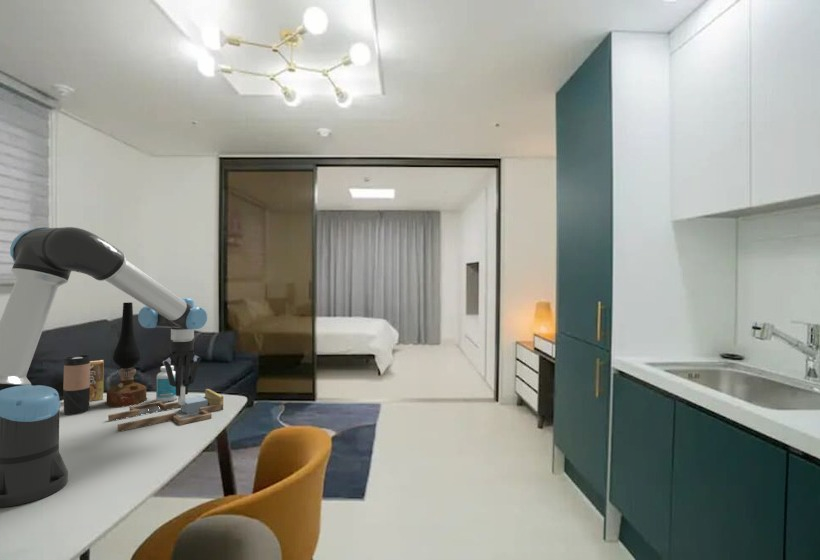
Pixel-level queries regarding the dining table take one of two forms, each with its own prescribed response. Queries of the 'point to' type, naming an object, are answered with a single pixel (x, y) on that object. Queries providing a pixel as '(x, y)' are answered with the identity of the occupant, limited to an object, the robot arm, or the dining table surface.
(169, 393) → the pill bottle
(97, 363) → the candy box
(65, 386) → the travel mug
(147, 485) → the dining table surface
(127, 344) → the oil lamp
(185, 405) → the slate block
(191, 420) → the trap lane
